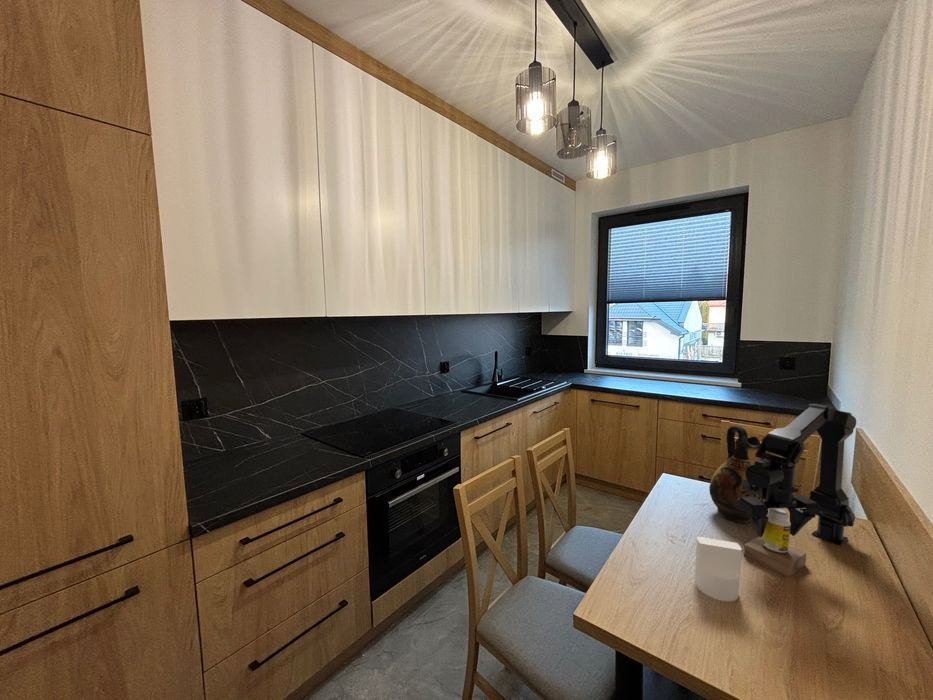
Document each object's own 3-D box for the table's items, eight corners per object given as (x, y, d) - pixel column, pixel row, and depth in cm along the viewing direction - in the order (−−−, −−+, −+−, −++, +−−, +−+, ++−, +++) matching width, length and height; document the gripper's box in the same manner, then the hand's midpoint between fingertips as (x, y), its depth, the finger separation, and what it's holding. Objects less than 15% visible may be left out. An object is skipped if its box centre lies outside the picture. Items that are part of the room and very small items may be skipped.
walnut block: (761, 547, 110) (762, 534, 109) (805, 567, 101) (806, 553, 100) (743, 558, 105) (744, 544, 104) (787, 580, 96) (788, 565, 96)
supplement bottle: (783, 556, 99) (787, 518, 98) (758, 545, 103) (761, 509, 103) (791, 550, 102) (794, 513, 101) (766, 540, 106) (769, 504, 106)
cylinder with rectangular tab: (731, 581, 95) (734, 536, 94) (744, 607, 87) (747, 558, 86) (690, 573, 98) (693, 529, 97) (699, 598, 90) (702, 550, 88)
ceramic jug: (777, 528, 118) (784, 435, 115) (727, 528, 118) (733, 436, 115) (739, 501, 135) (744, 420, 132) (695, 501, 135) (700, 420, 132)
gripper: (786, 467, 109) (782, 518, 110) (724, 468, 108) (721, 520, 110) (824, 484, 98) (819, 541, 99) (755, 486, 97) (751, 543, 99)
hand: (775, 535), depth 102 cm, fingers open, 9 cm apart
